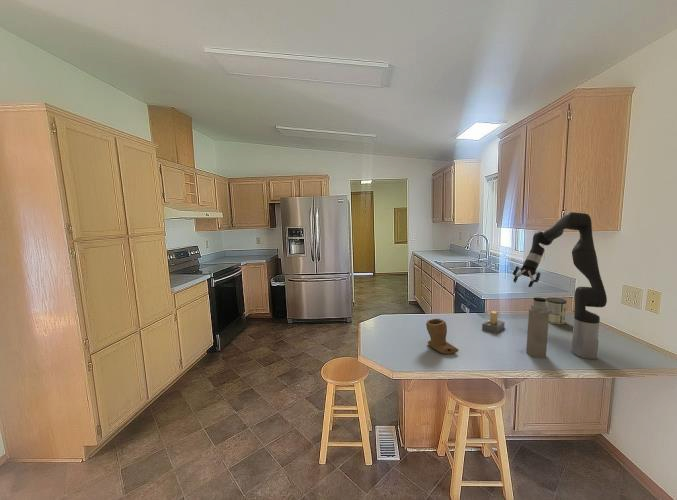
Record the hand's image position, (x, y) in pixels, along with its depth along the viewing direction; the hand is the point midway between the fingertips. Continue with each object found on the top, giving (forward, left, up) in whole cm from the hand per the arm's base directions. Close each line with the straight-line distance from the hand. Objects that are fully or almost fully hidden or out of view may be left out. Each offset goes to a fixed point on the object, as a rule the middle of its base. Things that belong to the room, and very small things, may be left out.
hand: (521, 284), depth 182 cm
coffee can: (+2, -20, -24) cm, 31 cm away
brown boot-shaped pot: (-51, +55, -24) cm, 79 cm away
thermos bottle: (-48, +10, -24) cm, 55 cm away
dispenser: (-20, +21, -23) cm, 38 cm away
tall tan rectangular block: (-20, +21, -22) cm, 37 cm away
